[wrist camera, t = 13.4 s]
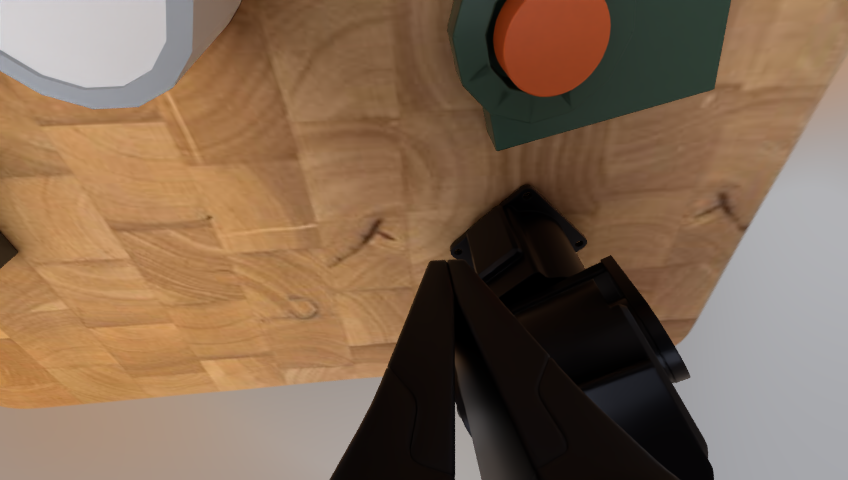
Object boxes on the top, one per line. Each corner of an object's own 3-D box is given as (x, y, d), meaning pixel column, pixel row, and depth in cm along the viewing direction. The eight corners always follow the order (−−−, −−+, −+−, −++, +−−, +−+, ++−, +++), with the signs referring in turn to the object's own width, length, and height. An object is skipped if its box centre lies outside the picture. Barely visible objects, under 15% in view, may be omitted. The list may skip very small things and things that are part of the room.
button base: (715, -151, 14) (806, -172, 11) (684, 74, 19) (741, 103, 16) (426, -48, 16) (434, -41, 13) (467, 138, 21) (481, 175, 18)
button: (590, -42, 13) (612, -38, 12) (590, 66, 15) (610, 80, 14) (484, -7, 14) (495, 1, 12) (500, 94, 16) (511, 110, 14)
